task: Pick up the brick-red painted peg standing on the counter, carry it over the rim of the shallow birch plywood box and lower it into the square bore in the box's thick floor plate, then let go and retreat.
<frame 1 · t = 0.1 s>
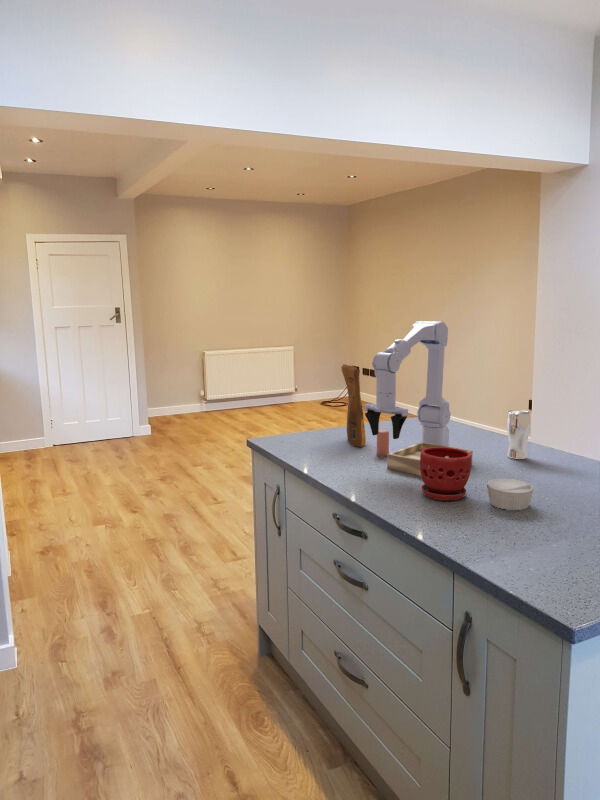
hand: (385, 436, 186), 10 cm above the worktop, tool pointing down, fingers open, 7 cm apart
box: (429, 466, 190), on the worktop
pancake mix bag: (354, 442, 221), on the worktop
ramekin: (509, 505, 155), on the worktop
peg: (382, 455, 204), on the worktop
beer glass: (516, 458, 198), on the worktop
plant pot: (444, 496, 163), on the worktop
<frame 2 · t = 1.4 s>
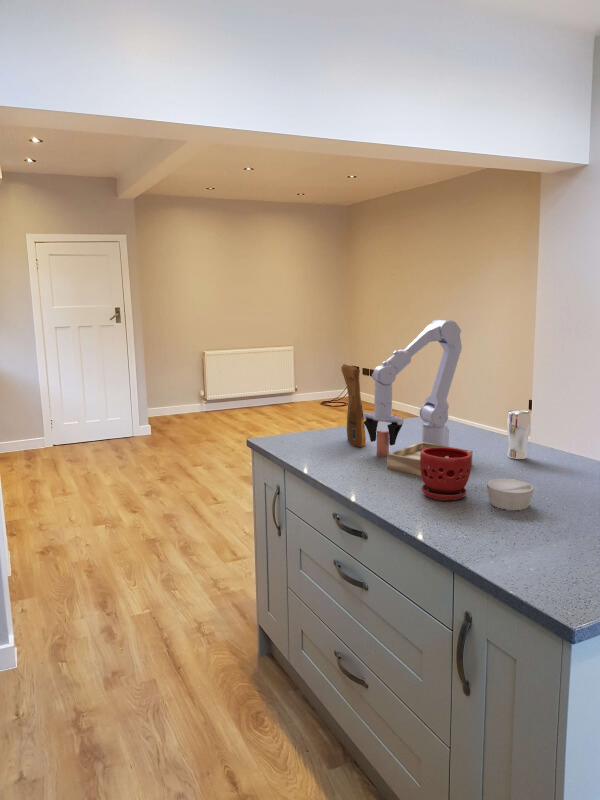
hand: (382, 443, 203), 4 cm above the worktop, tool pointing down, fingers open, 7 cm apart
nothing on the worktop moved.
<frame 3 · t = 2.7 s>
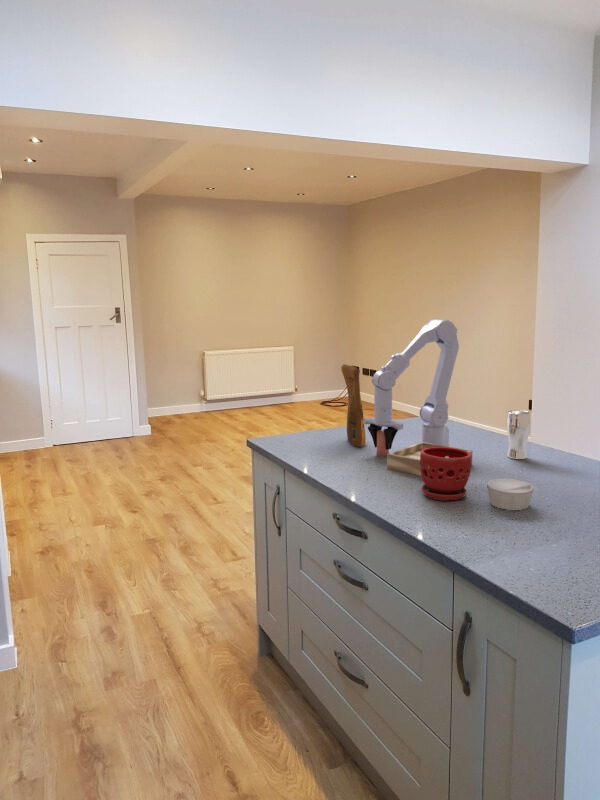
hand: (382, 447, 203), 2 cm above the worktop, tool pointing down, fingers closed on peg, 4 cm apart
peg: (382, 455, 204), on the worktop, touching gripper
everything else where it was.
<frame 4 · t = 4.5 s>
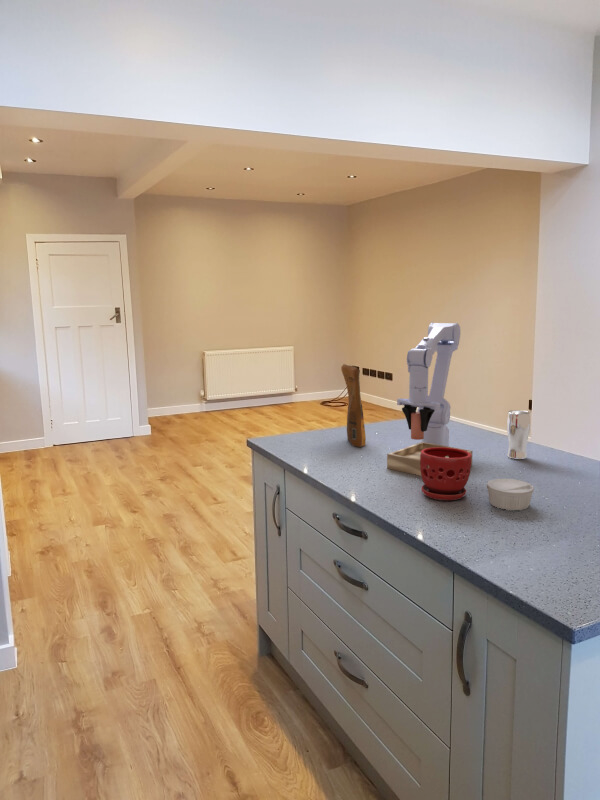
hand: (417, 429, 193), 10 cm above the worktop, tool pointing down, fingers closed on peg, 4 cm apart
peg: (417, 438, 193), point 8 cm above the worktop, touching gripper
everything else where it was.
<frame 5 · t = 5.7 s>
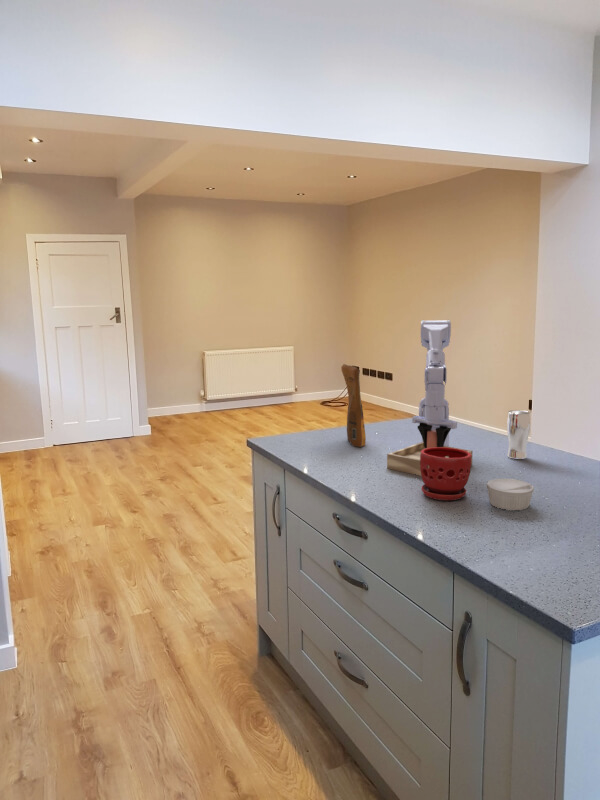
hand: (433, 448, 190), 5 cm above the worktop, tool pointing down, fingers closed on peg, 4 cm apart
peg: (433, 456, 190), point 3 cm above the worktop, touching gripper
everything else where it was.
when the fingers open (3 cm above the worktop, at t = 6.5 s): peg stays where it is, resting in box.
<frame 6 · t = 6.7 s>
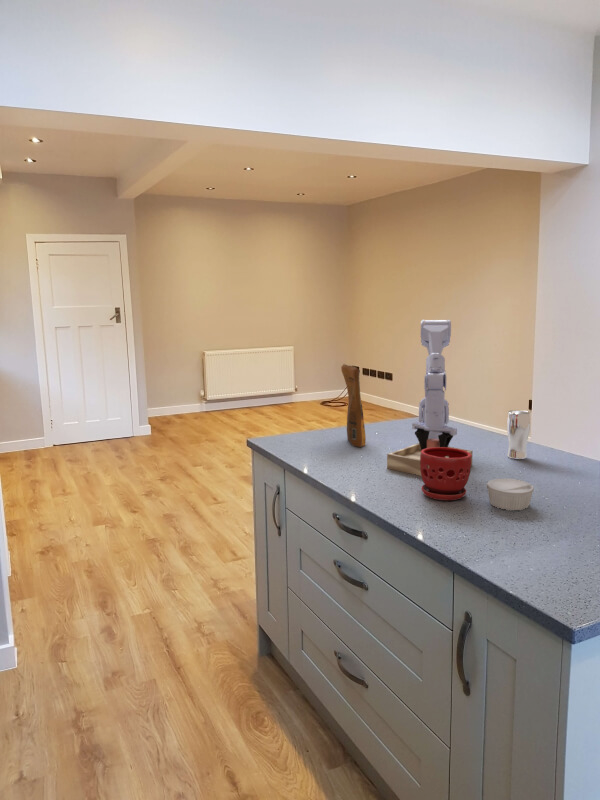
hand: (433, 454, 190), 3 cm above the worktop, tool pointing down, fingers open, 6 cm apart
peg: (432, 465, 191), resting in box
everything else where it was.
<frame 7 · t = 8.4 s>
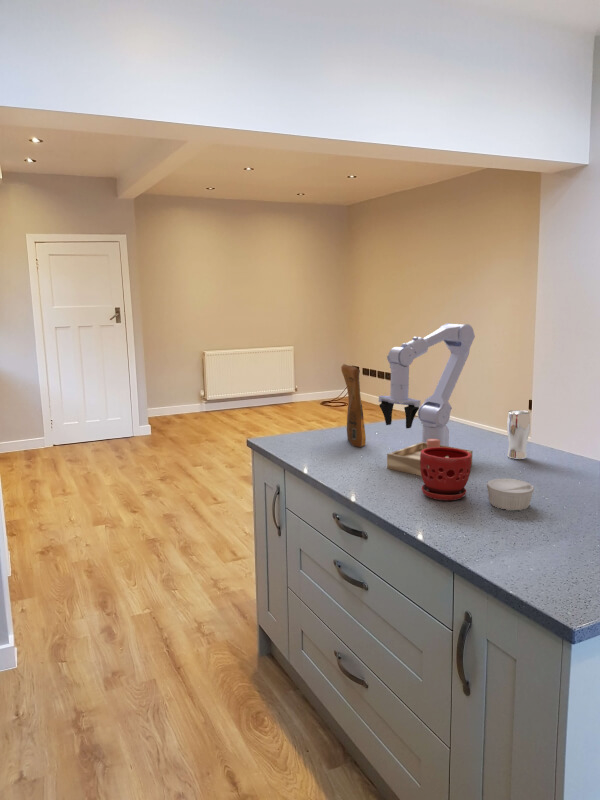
hand: (398, 426, 198), 10 cm above the worktop, tool pointing down, fingers open, 7 cm apart
nothing on the worktop moved.
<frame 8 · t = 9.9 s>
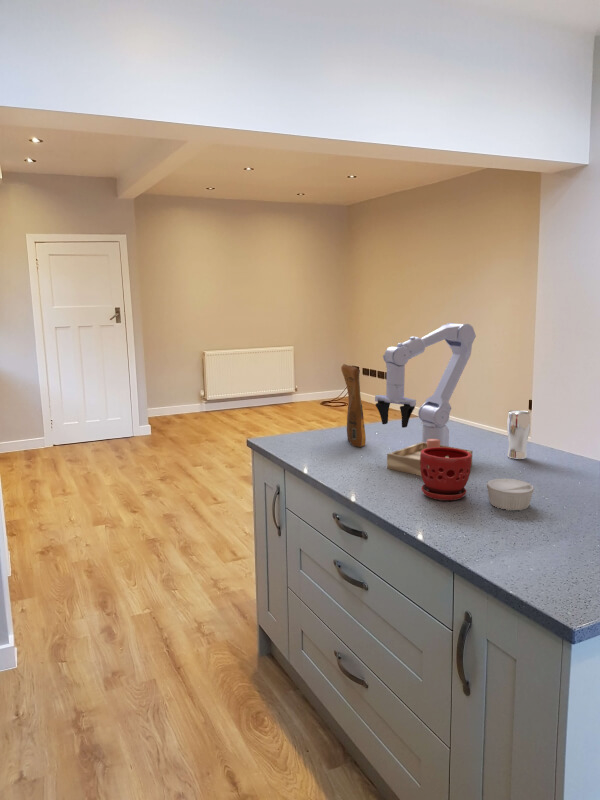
hand: (394, 425, 200), 10 cm above the worktop, tool pointing down, fingers open, 7 cm apart
nothing on the worktop moved.
at the end: peg 0.1 cm from the target spot on the box, point 0.0 cm above the box's base; peg tilted 0°; the gripper is holding nothing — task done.
